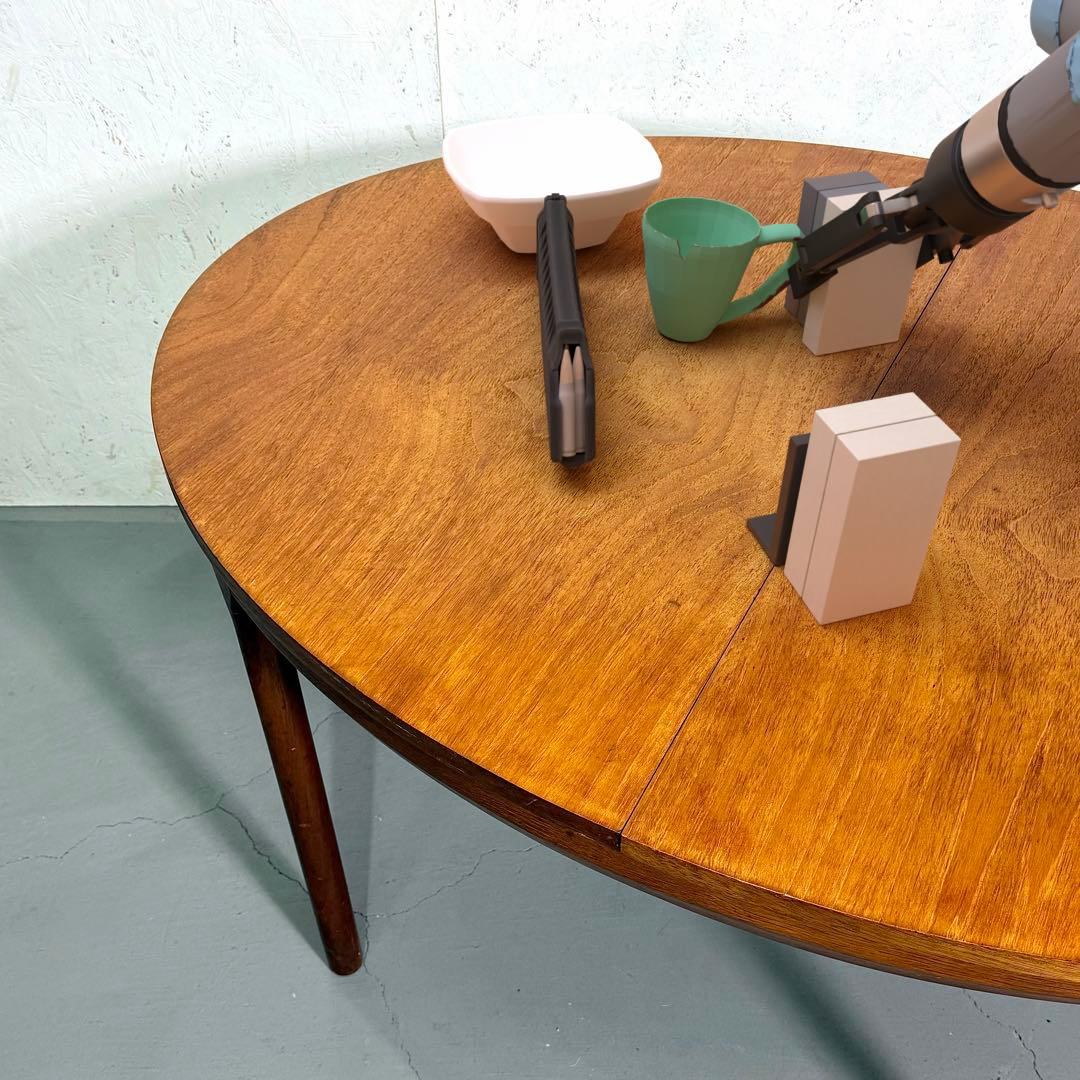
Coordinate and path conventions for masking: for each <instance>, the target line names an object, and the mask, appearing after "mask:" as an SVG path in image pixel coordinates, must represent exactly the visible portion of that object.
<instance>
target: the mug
mask: <svg viewBox="0 0 1080 1080" xmlns="http://www.w3.org/2000/svg"><path fill="white" fill-rule="evenodd" d="M641 232H642V240H643V247H644V265H645V277H646V278H645V279H646V283H647V289H648V295H649V301H650V305H651V308H652V309H651V310H652V313H653V317H654V321H655V324H656V329H657V330H658V331H659V333H660V334H662V335H663V336H665V337H666V338H669V339H672V340H675V341H678V342H688V343H693V342H700V341H703V340H705V339H707V338H708V337H709V336H710V335H711V334H712V332H713V331H714V329H715V328H716V327H719V326H722V325H723V324H727V323H729V322H732V321H734V320H736V319H740V318H742V317H744V316H747V315H749V314H753V313H755V312H757V311H760V310H762V309H763V308H764V307H765V306H766V305H768V304H769V303H770V302H771V301H772V300H774V298H776V297H777V296H778V295H780V294H781V293H782V292H783V291H784V290H785V289H787V286H789V285H790V280H789V275H788V271H787V269H788V268H789V267H791V266H792V265H793V264H794V263H796V262H797V261H798V260H800V259H799V254H798V250H797V245H796V243H797V242H798V241H800V240H801V239H803V238H804V237H805V236H804V234H803V233H802V231H801V230H800V229H799V227H798V226H797V223H771V224H768V225H767V224H766V225H764V226H763V225H762V226H761V223H760V221H759V220H758V218H756V217H755V216H754V215H753V214H752V213H751V212H750V211H748V210H745V209H744V208H742V207H740V206H738V205H735V204H732V203H730V202H726V201H723V200H719V199H714V198H707V197H700V196H699V197H698V196H677V197H676V196H675V197H668V198H665V199H660V200H656V201H655V202H653V203H652V204H650V205H648V206H647V207H646V209H645V210H644V212H643V214H642V220H641ZM779 243H792V246H791V248H790V251H789V253H788V256H787V259H785V261H784V262H783V263H782V264H781V265H780V266H779V267H778V268H777V269H776V270H775V271H774V272H773V273H772V274H771V275H770V276H769V277H768V278H767V279H766V280H765V281H764V282H763V283H762V284H761V285H759V287H757V289H755V290H754V291H753V292H752V293H750V294H748V295H745V296H742V297H740V298H738V299H735V300H733V299H734V297H735V296H736V293H737V292H738V289H739V287H740V285H741V282H742V280H743V277H744V275H745V274H746V273H745V272H746V270H747V268H748V266H749V264H750V262H751V260H752V258H753V255H754V254H755V251H756V249H758V248H761V247H766V246H769V245H774V244H779Z"/></svg>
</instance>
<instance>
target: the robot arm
mask: <svg viewBox="0 0 1080 1080" xmlns="http://www.w3.org/2000/svg"><path fill="white" fill-rule="evenodd" d="M1029 25H1030V26H1029V27H1030V31H1031V34H1032V36H1033V38H1034V41H1035V43H1036V46H1037V47H1039V49H1040V50H1042V51H1044V52H1045V53H1046V54H1048V56H1047V57H1046V58H1044V59H1043V60H1042V61H1041V62H1040V63H1038V64H1037V66H1035V67H1034V68H1033V69H1032V70H1031V71H1029V72H1027V73H1026V74H1023V76H1022V77H1020V78H1018V79H1017V80H1016V81H1015V82H1013V83H1012V84H1011V85H1010V86H1008V87H1007V88H1006V89H1004V90H1003V91H1002V92H1000V93H999V94H998V95H996V96H995V97H994V98H993V99H991V100H990V101H989V102H987V103H986V104H984V105H983V106H982V107H981V108H979V110H977V111H976V112H975V113H973V114H972V115H971V117H969V118H968V119H967V120H965V121H964V122H963V123H962V124H960V125H959V126H958V127H957V128H956V129H954V130H953V131H951V133H949V134H948V135H947V136H945V137H944V138H943V139H941V141H940V142H939V143H937V144H936V146H935V147H934V149H933V151H932V152H931V153H930V156H929V160H928V162H927V165H926V168H925V170H924V173H923V176H922V177H919V178H917V179H916V180H913V182H911V184H910V185H909V186H910V187H908V188H906V189H904V190H903V191H901V192H899V193H897V194H895V195H893V196H891V197H889V198H887V199H885V200H884V201H881V197H880V194H879V192H878V191H872V192H868V193H867V194H865V195H863V196H862V197H861V198H860V199H859V201H858V202H857V203H856V204H855V205H854V206H852V207H851V208H849V209H848V210H846V211H845V212H843V213H842V214H840V215H838V216H837V217H835V218H834V219H832V220H831V221H829V222H828V223H826V224H824V225H823V226H821V227H820V228H818V229H817V230H815V231H814V232H812V233H810V234H809V235H807V236H806V237H804V238H803V239H801V240H800V241H798V242H797V243H796V245H797V250H798V254H799V259H800V260H798V261H797V262H796V263H794V264H793V265H792V266H791V267H789V268H788V269H787V271H788V275H789V280H790V284H791V289H792V293H793V298H794V300H795V299H802V298H803V297H805V296H806V295H808V294H809V293H810V292H812V291H813V290H815V289H816V288H818V287H819V286H820V285H822V284H823V283H825V282H826V281H828V280H829V279H830V278H832V277H833V276H835V275H836V274H838V269H837V268H839V267H841V266H843V265H845V264H848V263H850V262H852V261H854V260H856V259H859V258H861V257H863V256H865V255H867V254H869V253H872V252H874V251H876V250H878V249H880V248H883V247H885V246H887V245H889V244H891V243H892V244H903V245H904V244H907V243H909V242H911V241H914V240H916V239H918V238H920V237H923V240H922V244H921V248H920V252H919V256H918V260H917V264H916V268H915V271H916V270H919V269H920V268H921V267H923V266H924V265H926V264H928V263H930V262H931V261H933V260H934V259H935V256H936V255H937V261H938V265H945V264H949V263H951V262H954V261H955V260H956V259H955V256H954V252H953V251H954V249H955V248H956V247H957V246H959V247H960V249H961V250H967V251H968V250H971V249H973V248H974V247H976V246H977V245H978V244H980V243H981V242H982V241H984V240H985V239H987V238H989V236H992V235H996V234H1000V233H1001V232H1003V231H1004V230H1007V229H1008V228H1010V227H1012V226H1013V225H1015V224H1016V223H1019V222H1020V221H1021V220H1023V219H1025V218H1027V217H1028V216H1030V215H1031V214H1033V213H1034V212H1035V211H1037V209H1040V208H1042V207H1043V209H1045V210H1053V209H1055V208H1057V206H1059V203H1060V198H1059V197H1060V196H1062V195H1063V194H1065V193H1066V192H1068V191H1070V190H1071V189H1074V188H1076V187H1077V186H1079V185H1080V0H1031V4H1030V11H1029ZM905 226H906V227H907V228H908V229H910V230H909V231H907V232H906V228H905Z"/></svg>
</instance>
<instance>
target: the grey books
mask: <svg viewBox="0 0 1080 1080" xmlns="http://www.w3.org/2000/svg"><path fill="white" fill-rule="evenodd" d="M887 189H893V188H891V187H890V186H889V185H887V184H886V183H885V182H883V181H882V180H881V179H880V178H878V177H877V176H876V175H874V174H873V173H871V172H870V171H869V170H861V171H854V172H852V171H851V172H846V173H839V174H838V173H837V174H831V175H825V176H824V175H823V176H815V177H810V178H804V179H803V183H802V190H801V196H800V202H799V209H798V215H797V222H796V225H797V226H798V227H799V229H800V230H801V231H802V233H803V234H804V236H805V237H806V236H807V235H809V234H810V233H812V232H814V231H815V230H817V229H818V228H820V227H821V226H822V225H823V220H824V214H825V209H826V203H827V198H831V197H838V196H845V195H852V194H859V193H866V192H872V191H880V190H887ZM810 293H811V292H810ZM810 293H809V294H808V295H806V296H805V297H803V298H802V299H795V300H794V298H793V293H792V289H791V284H790V285H789V286H787V287H786V291H785V297H784V305H783V307H784V309H785V310H787V311H788V313H790V314H791V316H792V317H793V318H794V319H796V321H797V322H798V323H799V324H800V325H801V326H802V327H803V328H804V327H805V321H806V316H807V310H808V304H809V299H810Z"/></svg>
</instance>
